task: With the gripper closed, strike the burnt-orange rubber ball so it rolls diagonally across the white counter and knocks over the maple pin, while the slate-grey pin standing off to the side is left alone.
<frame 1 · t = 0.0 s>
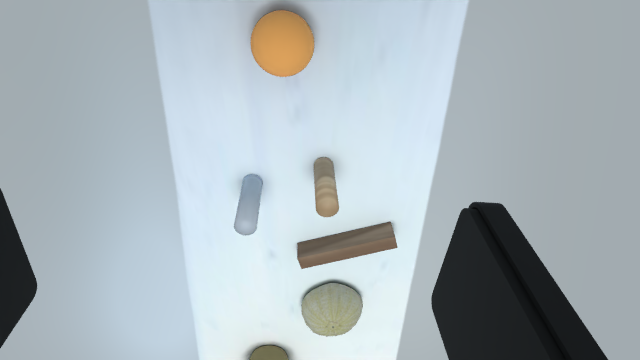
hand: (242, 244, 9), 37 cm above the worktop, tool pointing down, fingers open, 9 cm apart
ball: (282, 44, 40), on the worktop
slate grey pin: (252, 182, 52), on the worktop
squeeze bottle: (269, 353, 71), on the worktop
back wall: (345, 237, 58), on the worktop
sea urchin shell: (330, 298, 65), on the worktop
maple pin: (323, 165, 51), on the worktop
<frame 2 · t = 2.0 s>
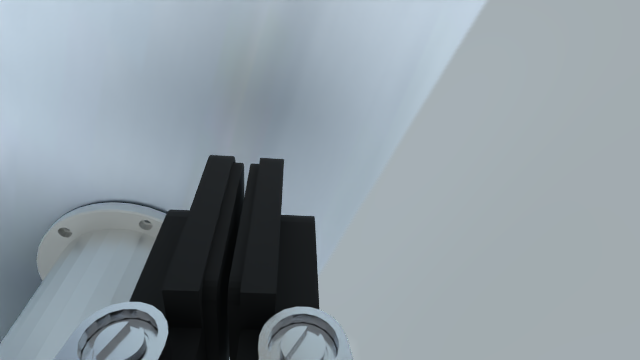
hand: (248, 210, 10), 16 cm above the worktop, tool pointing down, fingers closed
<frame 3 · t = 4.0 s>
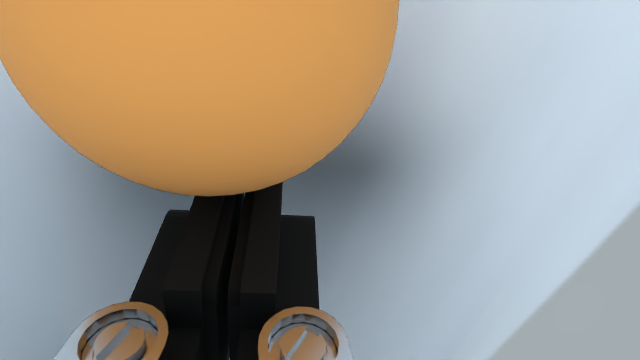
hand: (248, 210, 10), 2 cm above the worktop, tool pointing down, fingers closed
ball: (211, 12, 7), on the worktop, touching gripper
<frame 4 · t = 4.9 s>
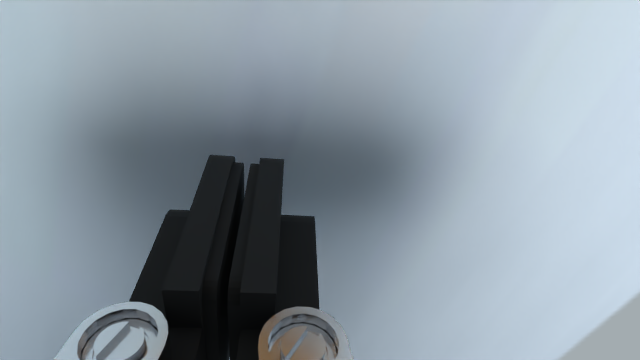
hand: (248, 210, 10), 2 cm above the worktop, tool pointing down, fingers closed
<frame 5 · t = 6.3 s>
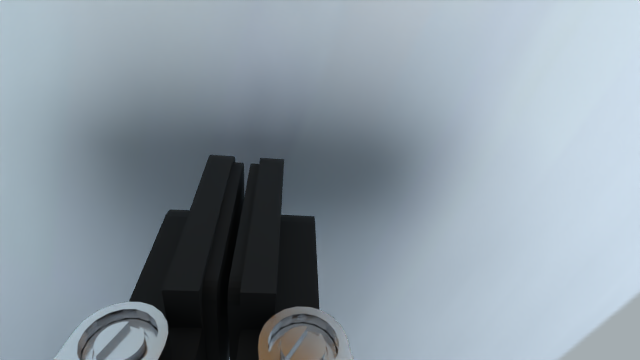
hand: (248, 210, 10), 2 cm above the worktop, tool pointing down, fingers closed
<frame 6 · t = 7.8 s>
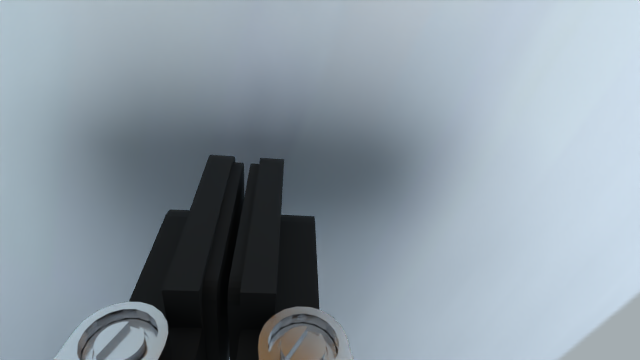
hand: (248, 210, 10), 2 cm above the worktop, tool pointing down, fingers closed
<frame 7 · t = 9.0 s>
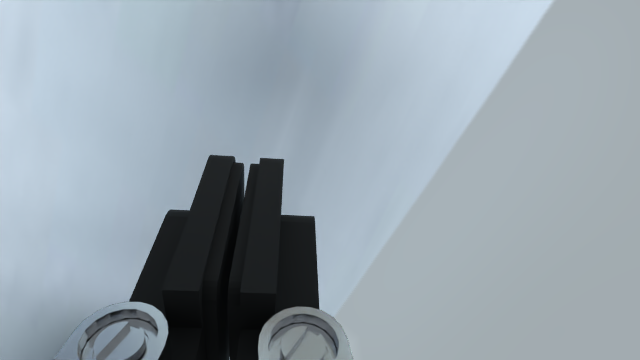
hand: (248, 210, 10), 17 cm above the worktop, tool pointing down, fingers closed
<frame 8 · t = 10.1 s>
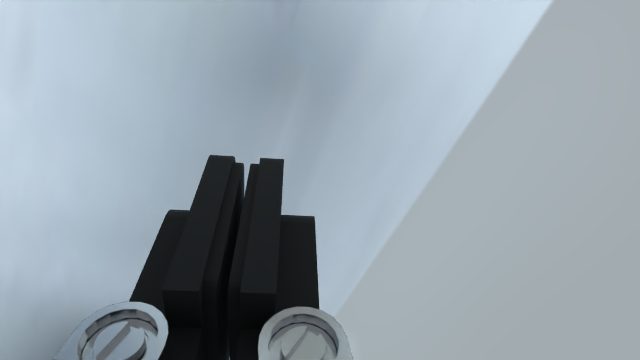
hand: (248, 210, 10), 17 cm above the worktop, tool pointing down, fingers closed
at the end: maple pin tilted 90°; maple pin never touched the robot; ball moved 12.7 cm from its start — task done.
